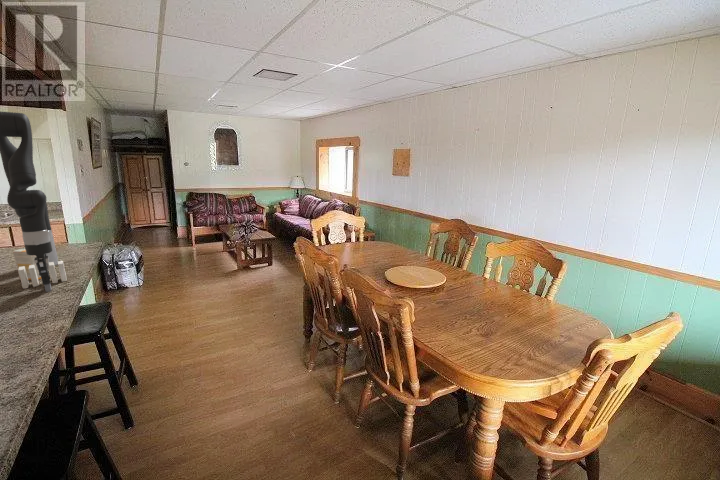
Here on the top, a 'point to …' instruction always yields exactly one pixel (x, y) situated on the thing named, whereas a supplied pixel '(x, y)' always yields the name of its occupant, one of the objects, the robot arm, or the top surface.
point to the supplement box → (25, 261)
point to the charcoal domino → (47, 285)
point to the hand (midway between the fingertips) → (46, 281)
